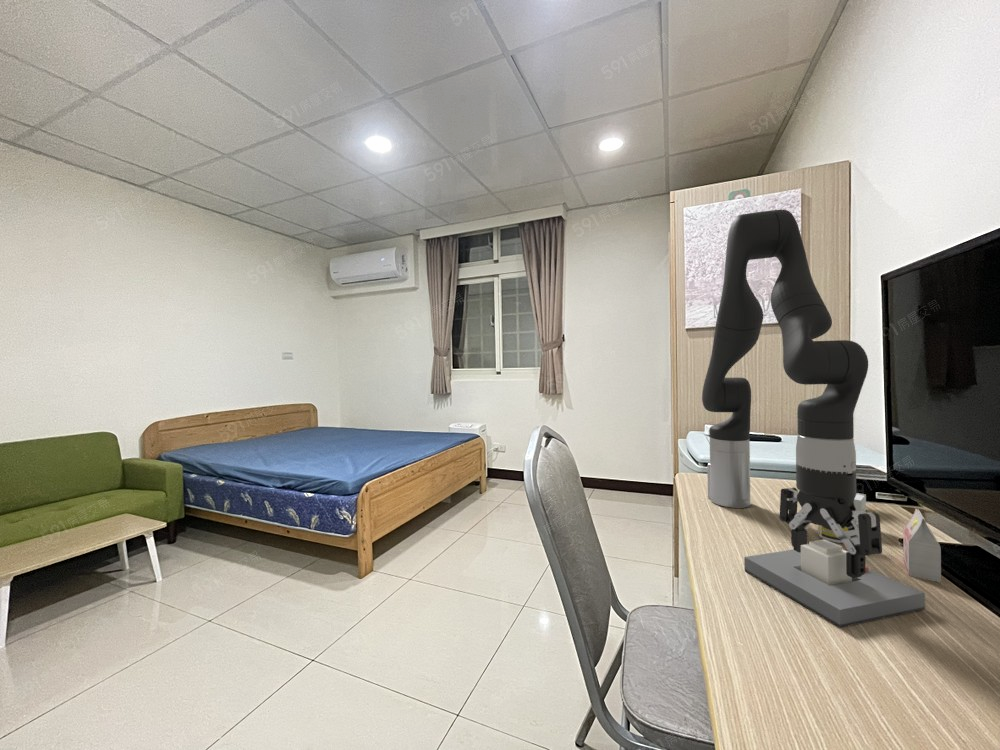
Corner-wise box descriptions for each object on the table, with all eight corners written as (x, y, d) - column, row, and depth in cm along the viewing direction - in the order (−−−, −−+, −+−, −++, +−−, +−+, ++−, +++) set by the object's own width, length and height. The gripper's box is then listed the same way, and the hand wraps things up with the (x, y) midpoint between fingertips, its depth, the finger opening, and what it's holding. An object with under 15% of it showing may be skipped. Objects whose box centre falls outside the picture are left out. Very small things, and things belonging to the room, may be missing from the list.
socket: (744, 570, 70) (744, 553, 70) (816, 559, 74) (815, 542, 74) (840, 627, 55) (839, 605, 55) (924, 609, 58) (924, 588, 58)
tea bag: (933, 566, 70) (932, 510, 70) (941, 582, 65) (940, 522, 65) (903, 560, 73) (903, 506, 73) (909, 575, 68) (908, 517, 67)
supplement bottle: (854, 544, 80) (853, 502, 79) (827, 542, 81) (826, 501, 80) (838, 534, 84) (838, 495, 84) (813, 533, 85) (813, 494, 85)
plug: (801, 580, 66) (800, 540, 66) (823, 576, 67) (823, 536, 67) (828, 595, 62) (828, 552, 62) (852, 590, 63) (851, 548, 63)
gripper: (767, 456, 70) (768, 546, 70) (855, 477, 56) (856, 590, 57) (801, 453, 72) (802, 541, 72) (894, 473, 58) (895, 582, 58)
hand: (825, 563), depth 64 cm, fingers open, 8 cm apart
